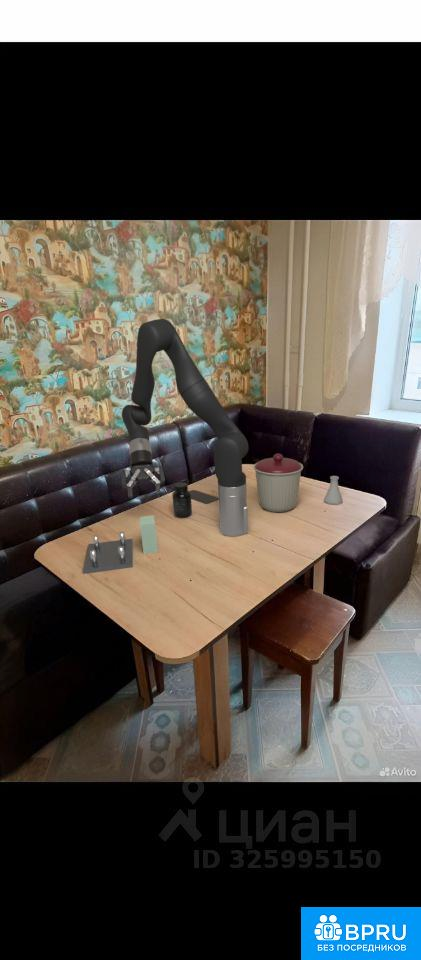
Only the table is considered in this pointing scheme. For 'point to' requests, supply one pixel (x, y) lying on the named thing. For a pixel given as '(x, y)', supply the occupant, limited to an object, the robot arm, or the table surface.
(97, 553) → the plate
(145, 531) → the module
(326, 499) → the flask
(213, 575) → the table surface
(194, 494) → the smartphone
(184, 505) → the supplement bottle
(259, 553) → the table surface
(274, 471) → the canister
